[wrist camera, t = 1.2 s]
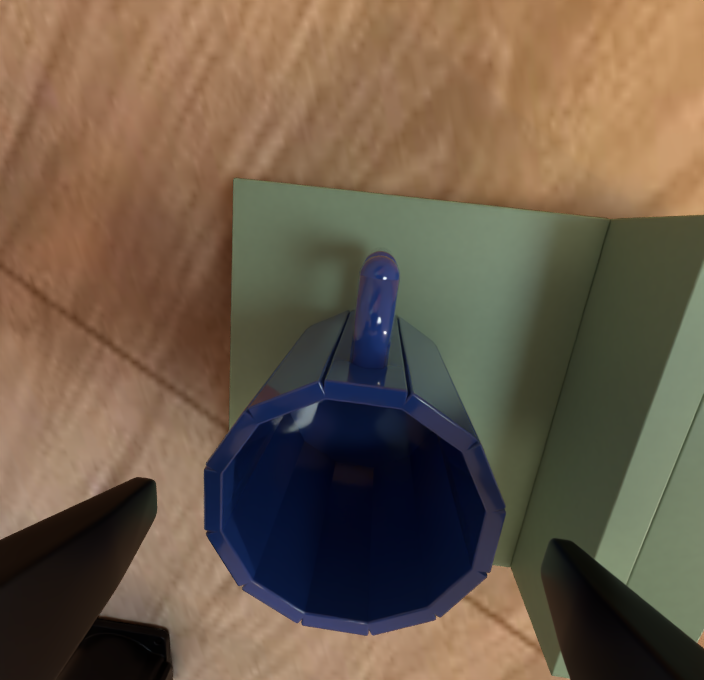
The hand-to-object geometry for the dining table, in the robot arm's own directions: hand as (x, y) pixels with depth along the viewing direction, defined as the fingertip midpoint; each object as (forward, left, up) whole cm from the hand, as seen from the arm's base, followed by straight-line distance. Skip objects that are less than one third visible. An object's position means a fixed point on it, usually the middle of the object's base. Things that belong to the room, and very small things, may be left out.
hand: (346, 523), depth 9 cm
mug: (0, +1, -7) cm, 7 cm away
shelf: (+3, 0, -10) cm, 11 cm away
